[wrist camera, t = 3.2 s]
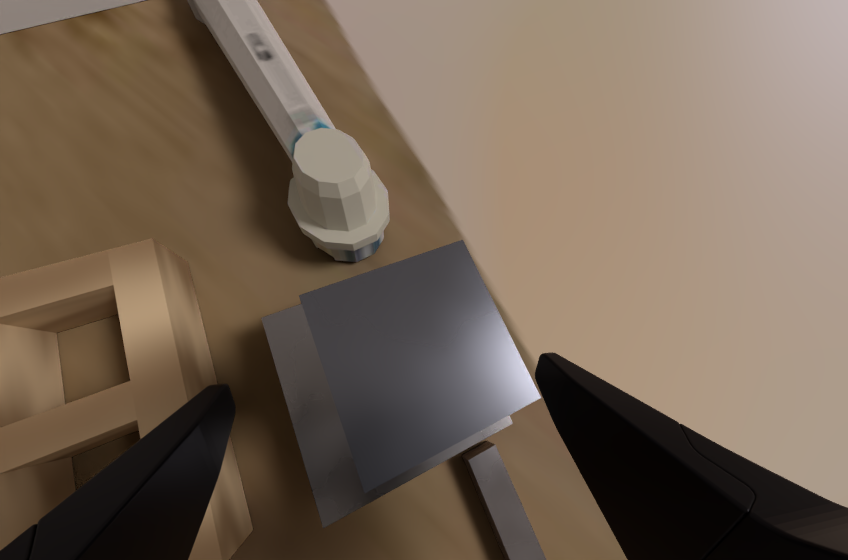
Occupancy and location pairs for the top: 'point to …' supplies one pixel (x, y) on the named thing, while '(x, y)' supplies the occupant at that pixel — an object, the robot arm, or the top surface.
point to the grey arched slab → (49, 11)
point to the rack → (112, 408)
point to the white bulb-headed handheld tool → (302, 135)
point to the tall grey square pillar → (415, 359)
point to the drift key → (502, 504)
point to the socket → (331, 422)
